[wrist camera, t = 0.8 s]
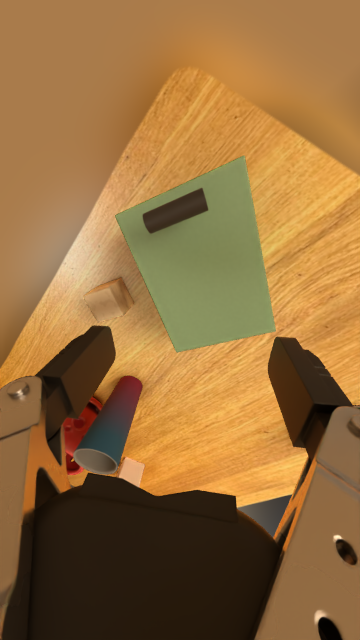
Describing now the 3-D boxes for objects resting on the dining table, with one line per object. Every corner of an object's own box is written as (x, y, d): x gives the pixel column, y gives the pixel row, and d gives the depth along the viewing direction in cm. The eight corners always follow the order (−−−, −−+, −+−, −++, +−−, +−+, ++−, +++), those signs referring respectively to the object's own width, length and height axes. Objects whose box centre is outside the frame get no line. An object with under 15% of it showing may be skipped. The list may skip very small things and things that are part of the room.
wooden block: (97, 286, 32) (82, 296, 28) (121, 277, 31) (108, 287, 27) (111, 310, 34) (98, 323, 30) (134, 303, 33) (123, 315, 29)
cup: (123, 367, 40) (81, 442, 27) (152, 383, 41) (125, 463, 28) (110, 385, 43) (66, 461, 30) (137, 400, 44) (106, 479, 31)
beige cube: (138, 472, 60) (131, 497, 55) (120, 465, 60) (111, 489, 55) (145, 464, 57) (138, 489, 52) (125, 456, 57) (117, 481, 52)
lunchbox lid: (117, 215, 20) (92, 216, 16) (243, 157, 17) (254, 138, 12) (177, 349, 27) (170, 375, 23) (274, 327, 24) (288, 353, 20)
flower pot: (49, 385, 46) (2, 436, 36) (101, 387, 44) (67, 442, 33) (70, 421, 52) (35, 474, 42) (117, 424, 50) (92, 481, 39)
